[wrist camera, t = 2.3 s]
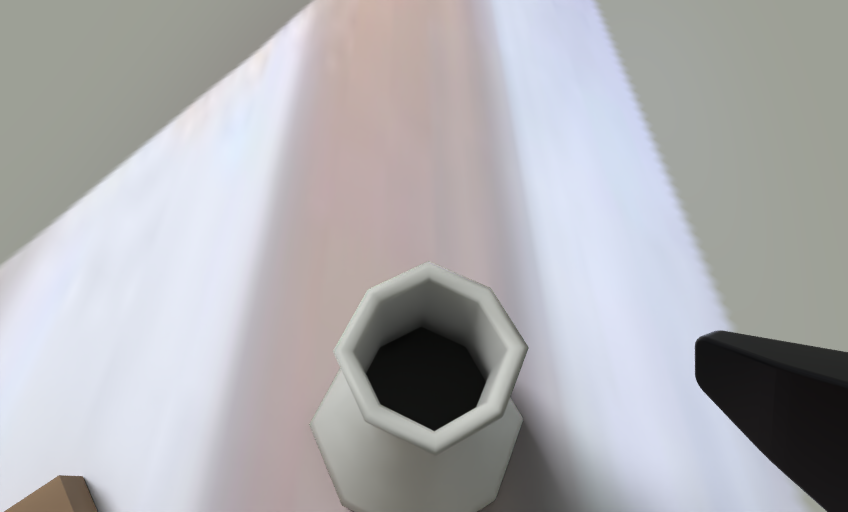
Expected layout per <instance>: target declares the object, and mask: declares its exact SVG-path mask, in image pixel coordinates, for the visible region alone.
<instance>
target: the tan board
mask: <svg viewBox="0 0 848 512" xmlns="http://www.w3.org/2000/svg"><path fill="white" fill-rule="evenodd" d="M4 512H97V509H96V507H95V504H94V502H93V500H92V497H91V495H90V493H89V490H88V488H87V485H86V483H85V481H84V478H83V476H62V475H59V476H57V477H56V478H54V479H53V480H51V481H50V482H48V483H47V484H45V485H44V486H42V487H41V488H39V489H38V490H36V491H35V492H33V493H32V494H30V495H29V496H27V497H26V498H24V499H23V500H21V501H20V502H18V503H16V504H15V505H13V506H12V507H10V508H9V509H7V510H6V511H4Z"/></svg>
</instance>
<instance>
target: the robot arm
mask: <svg viewBox="0 0 848 512" xmlns="http://www.w3.org/2000/svg"><path fill="white" fill-rule="evenodd" d="M695 377H696V380H697V383H698V385H699V386H700V388H701V389H702V390H703V391H704V392H705V393H706V394H707V396H708V397H709V398H710V399H711V400H712V401H713V402H714V403H715V404H716V405H717V406H718V407H719V408H720V409H721V410H722V411H723V412H724V413H725V414H726V415H727V416H728V418H729V419H730V420H731V421H732V422H733V423H734V424H735V425H736V426H737V427H738V428H739V429H740V430H741V431H742V432H743V433H744V434H745V435H746V436H747V437H748V439H749V440H750V441H751V442H752V443H753V444H754V445H755V446H756V447H757V448H758V449H759V450H760V451H761V452H762V453H763V454H764V455H765V456H766V457H767V458H768V459H769V460H770V461H771V462H772V463H773V464H774V465H776V466H777V467H778V468H779V469H780V470H781V471H782V472H783V473H784V474H785V475H786V476H788V477H789V478H790V479H791V480H792V481H793V482H794V483H795V484H797V485H798V486H799V487H800V488H801V489H802V490H803V491H804V492H806V493H807V494H808V495H809V496H810V497H811V498H813V499H814V500H815V501H816V502H817V503H818V504H819V505H820V506H821V507H823V508H824V509H825V510H826V511H827V512H848V352H843V351H837V350H831V349H825V348H820V347H813V346H808V345H802V344H797V343H790V342H784V341H779V340H773V339H768V338H762V337H756V336H750V335H744V334H738V333H733V332H727V331H714V332H711V333H709V334H706V335H703V336H701V337H699V338H698V339H697V341H696V343H695Z"/></svg>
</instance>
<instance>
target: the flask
mask: <svg viewBox="0 0 848 512" xmlns="http://www.w3.org/2000/svg"><path fill="white" fill-rule="evenodd" d="M528 348H529V347H528V346H527V344H526V343H525V341H524V339H523V338H522V336H521V335H520V333H519V332H518V330H517V329H516V327H515V325H514V324H513V322H512V321H511V319H510V318H509V316H508V314H507V313H506V311H505V310H504V308H503V307H502V305H501V304H500V302H499V300H498V299H497V297H496V296H495V294H494V293H493V291H492V289H491V288H489V287H487V286H485V285H482V284H480V283H478V282H475V281H473V280H471V279H469V278H466V277H464V276H462V275H459V274H457V273H455V272H452V271H450V270H448V269H446V268H443V267H441V266H439V265H436V264H434V263H432V262H429V261H428V262H426V263H424V264H422V265H419V266H417V267H415V268H413V269H411V270H409V271H407V272H404V273H402V274H400V275H398V276H396V277H394V278H392V279H389V280H387V281H385V282H383V283H381V284H379V285H377V286H374V287H372V288H370V289H368V290H367V292H366V294H365V296H364V298H363V299H362V301H361V303H360V305H359V306H358V308H357V310H356V312H355V313H354V315H353V317H352V319H351V320H350V322H349V324H348V326H347V328H346V329H345V331H344V333H343V335H342V336H341V338H340V340H339V342H338V343H337V345H336V347H335V349H334V351H333V352H334V355H335V357H336V359H337V361H338V364H339V366H340V369H339V371H338V373H337V375H336V377H335V379H334V380H333V382H332V384H331V386H330V388H329V389H328V391H327V393H326V395H325V397H324V399H323V400H322V402H321V404H320V406H319V408H318V409H317V411H316V413H315V415H314V417H313V419H312V420H311V422H310V424H309V425H310V428H311V430H312V433H313V435H314V438H315V440H316V443H317V445H318V448H319V450H320V452H321V455H322V457H323V460H324V462H325V465H326V467H327V470H328V472H329V475H330V477H331V480H332V482H333V484H334V487H335V489H336V492H337V494H338V497H339V499H340V502H341V504H342V506H344V507H346V508H348V509H350V510H352V511H354V512H477V511H479V510H480V509H482V508H484V507H485V506H487V505H488V504H490V503H492V502H493V501H495V499H496V497H497V494H498V491H499V488H500V485H501V482H502V479H503V476H504V474H505V471H506V468H507V465H508V462H509V459H510V456H511V454H512V451H513V448H514V445H515V442H516V439H517V436H518V434H519V431H520V428H521V425H522V422H523V418H522V416H521V414H520V413H519V411H518V409H517V408H516V406H515V404H514V403H513V401H512V399H511V398H510V396H511V394H512V391H513V388H514V386H515V383H516V380H517V377H518V375H519V372H520V369H521V367H522V364H523V361H524V359H525V356H526V353H527V350H528Z"/></svg>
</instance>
